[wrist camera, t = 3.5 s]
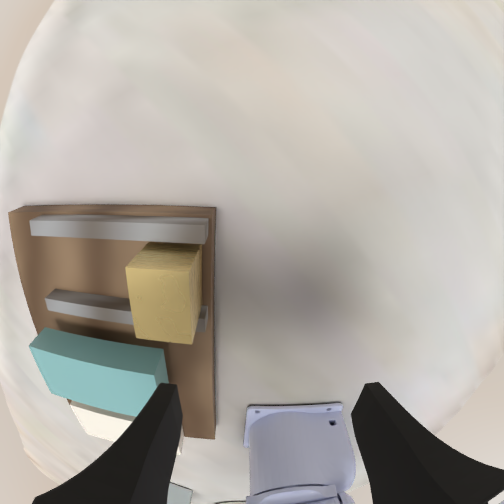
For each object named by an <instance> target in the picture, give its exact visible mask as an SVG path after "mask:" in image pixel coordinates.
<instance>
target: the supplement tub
mask: <svg viewBox="0 0 504 504" xmlns="http://www.w3.org/2000/svg"><path fill="white" fill-rule="evenodd" d="M219 504H246V502H225V503H219Z"/></svg>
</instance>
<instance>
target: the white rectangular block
mask: <svg viewBox="0 0 504 504" xmlns="http://www.w3.org/2000/svg"><path fill="white" fill-rule="evenodd" d="M70 406H71V408H72V410H73V412H74V413H75V415H76V417H77V418H78V420H79V422H80V423H81V425H82V427H83V428H84V430H85V432H86V433H87V434H89V435H92V436H96V437H99V438H102V439H106V440H109V441H113V442H115V441H116V440H117V439H118V438H119V437H120V436H121V435H122V434H123V432H124V431H125V430H126V429H127V428H128V427H129V425H130V424H131V423H132V422H133V420H134V419H135V418H136V417H135V416H130V415H125V414H121V413H117V412H112V411H108V410H104V409H101V408H97V407H93V406H90V405H86V404H83V403H80V402H76V401H73V400H72V401H71V403H70ZM183 439H184V432H183V427H182V428H181V436H180V441H179V445H178V450H177V455H181V451H182V445H183Z"/></svg>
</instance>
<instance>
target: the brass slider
mask: <svg viewBox="0 0 504 504" xmlns="http://www.w3.org/2000/svg"><path fill="white" fill-rule="evenodd" d="M125 269H126V277H127V285H128V292H129V299H130V306H131V312H132V318H133V324H134V329H135V335H136V338H140V339H147V340H155V341H164V342H172V343H182V344H192V343H193V339H194V335H195V331H196V327H197V323H198V319H199V315H200V311H201V307H202V244H190V243H172V242H153V241H149V242H148V243H147V244H146V245H145V246H144V248H143V249H142V250H141V251H140V252H139V253H138V254H137V255H136V256H135V257H134V258H133V259H132V261H131V262H130V263H129V264H128V265H127V266H126V267H125Z"/></svg>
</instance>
